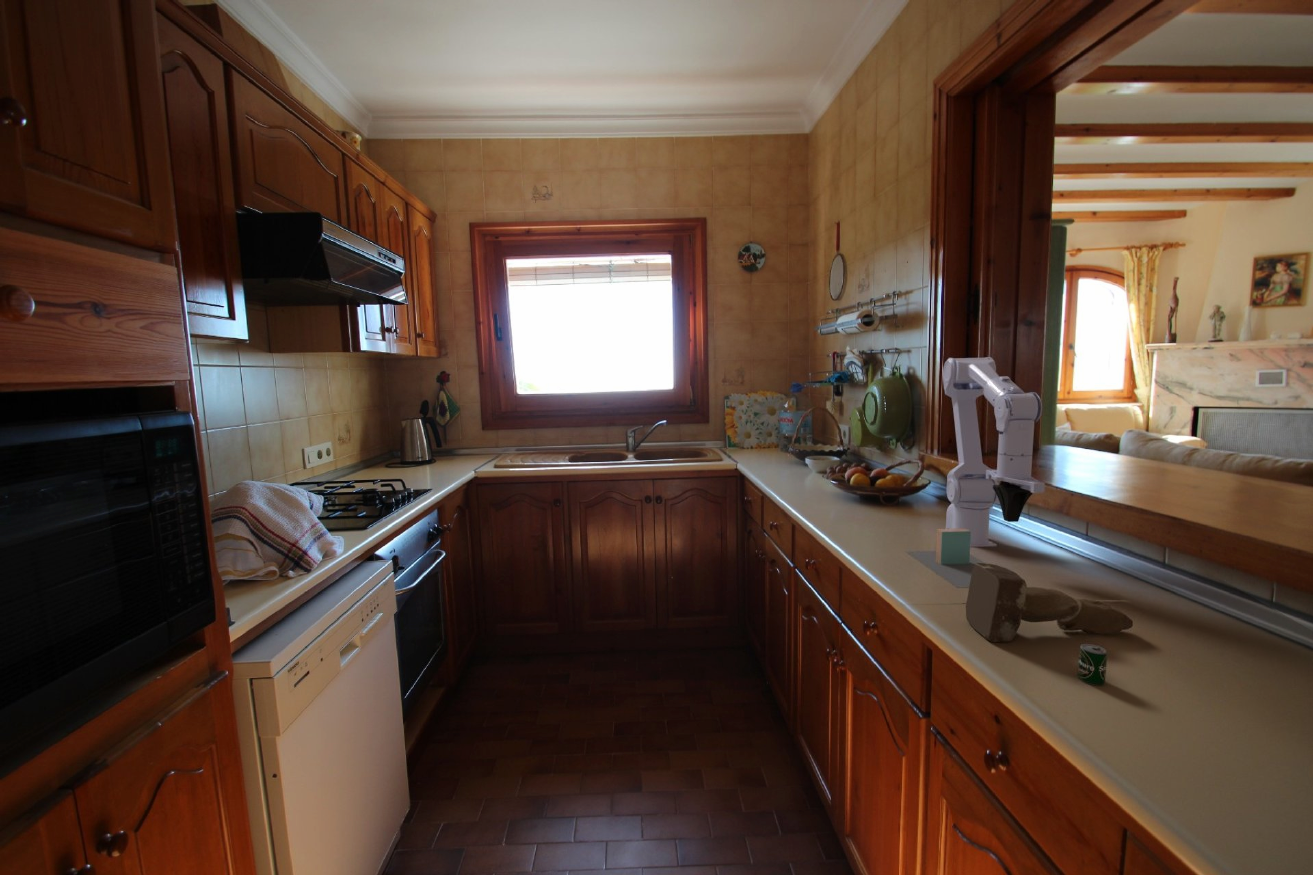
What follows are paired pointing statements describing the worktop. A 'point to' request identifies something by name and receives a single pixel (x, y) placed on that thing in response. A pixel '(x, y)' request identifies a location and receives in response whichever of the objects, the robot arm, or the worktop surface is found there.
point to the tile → (953, 546)
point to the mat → (947, 568)
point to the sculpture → (1031, 606)
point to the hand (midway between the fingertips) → (1011, 520)
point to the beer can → (1092, 664)
